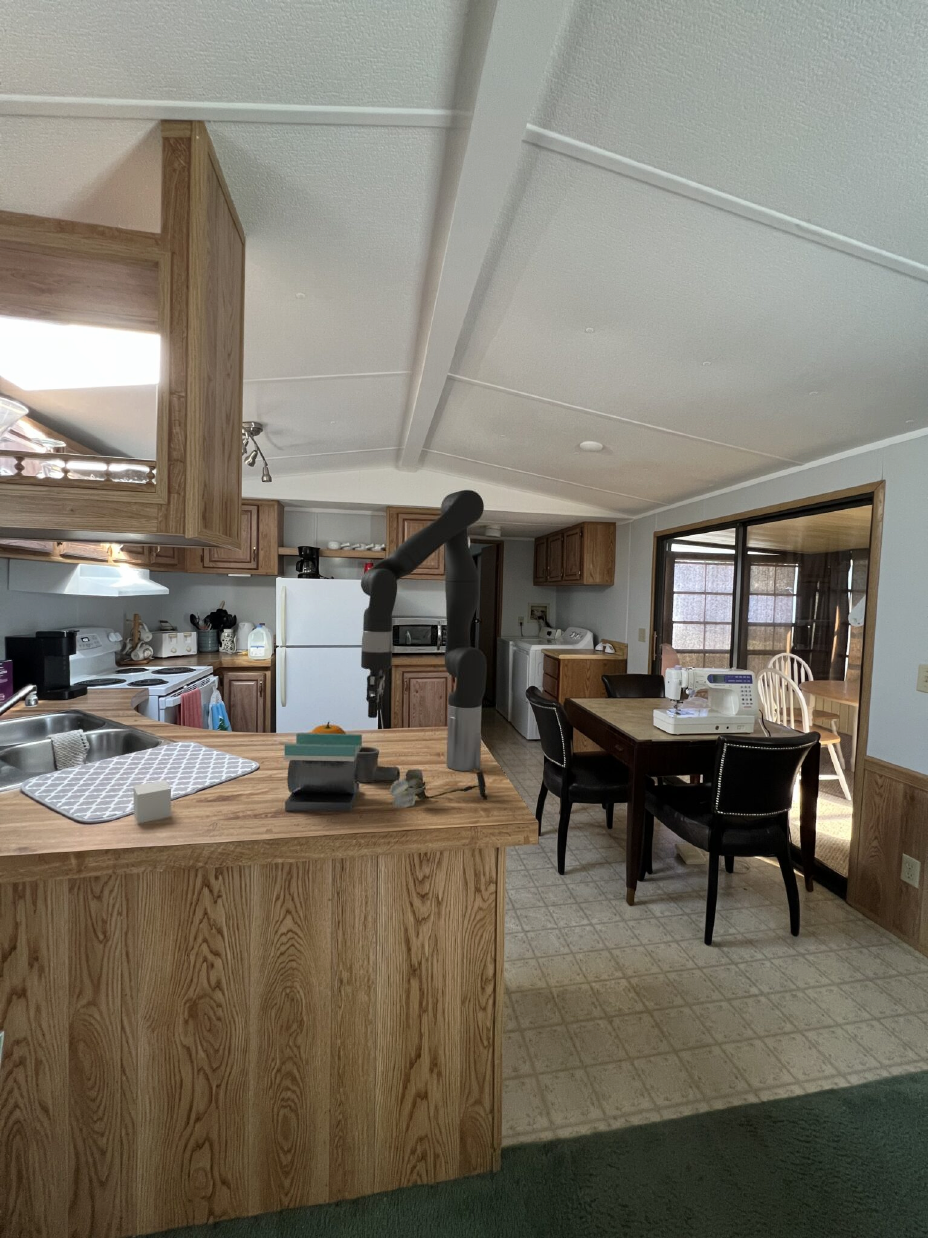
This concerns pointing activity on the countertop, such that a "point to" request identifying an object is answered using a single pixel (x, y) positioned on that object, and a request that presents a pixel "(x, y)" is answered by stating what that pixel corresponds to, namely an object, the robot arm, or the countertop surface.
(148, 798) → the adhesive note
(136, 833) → the countertop surface
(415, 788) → the artificial flower
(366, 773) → the pipe
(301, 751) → the motor
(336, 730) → the fruit
